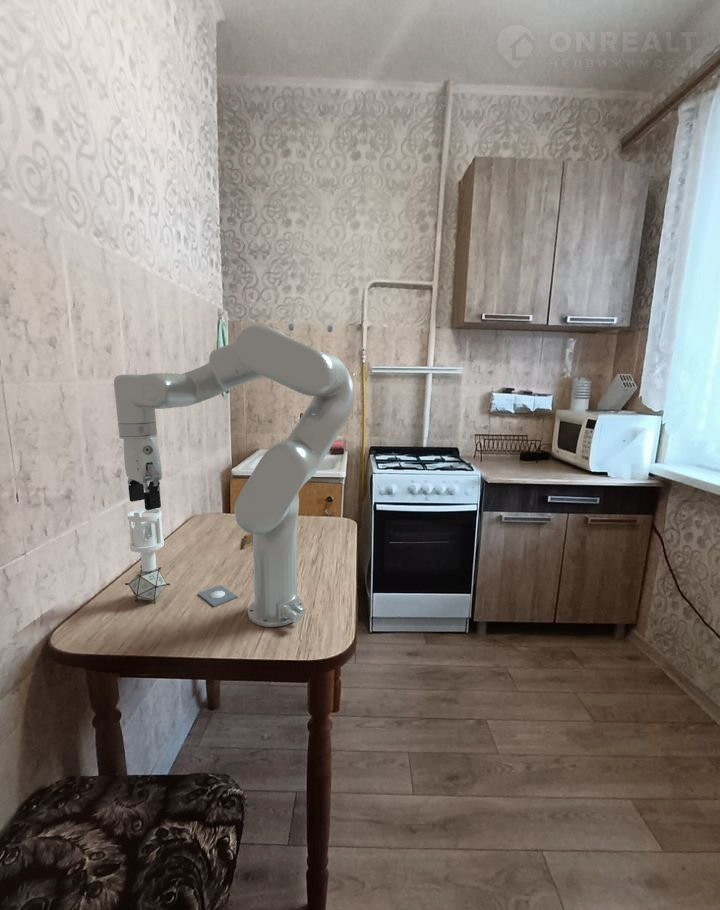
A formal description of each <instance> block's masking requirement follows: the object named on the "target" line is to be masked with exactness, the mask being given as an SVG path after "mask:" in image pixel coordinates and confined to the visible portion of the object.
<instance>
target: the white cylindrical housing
mask: <svg viewBox="0 0 720 910" xmlns="http://www.w3.org/2000/svg"><path fill="white" fill-rule="evenodd" d="M144 514H151V515H147V516H146V515H145V516H142V515H144ZM162 516H163V511H162V509H160V508H156V509H152V510H146V509H145V507H144V508H139V509H135V510H131V511H129V512H128V513H127V515H126V517H127V520H128V522H129V525H128V526H129V536H130V543H129V548H130V551H131V552H133V553H138V554H139V553H140V561H141V564H140V565H142V571H152V570H154V569H157V560H156V551H157V550H159V549H161V548H162V547H164V545H165V541H164V536H163V535H164V534H163V523H162Z"/></svg>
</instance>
